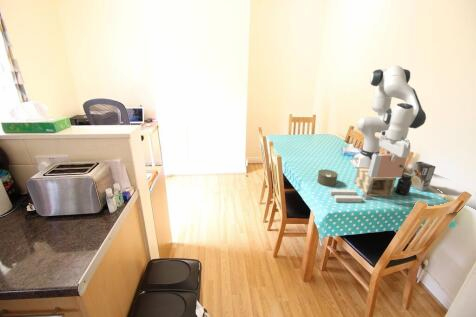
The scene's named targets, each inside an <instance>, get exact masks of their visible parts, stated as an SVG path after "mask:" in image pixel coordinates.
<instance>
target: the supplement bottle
mask: <svg viewBox="0 0 476 317" xmlns="http://www.w3.org/2000/svg"><path fill="white" fill-rule="evenodd" d="M411 184H412V181H411V174H407V173H402V175H401V178H399V177H398V178H397V183H396V187H395V189H394V192H395V193H396V194H397V195H400V196H409V193H410V190H411V188H412V187H411Z"/></svg>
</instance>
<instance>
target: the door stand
mask: <svg viewBox="0 0 476 317" xmlns="http://www.w3.org/2000/svg"><path fill="white" fill-rule="evenodd" d="M357 193H358V192H357V191H356V190H355V189H334V188H333V189H329V191H328V194H329V195H330V197H331V196H333V200H334V202H335V203H362V202H363V199H364V198H363V197H362V196H361V195H357Z"/></svg>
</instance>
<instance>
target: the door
mask: <svg viewBox="0 0 476 317" xmlns="http://www.w3.org/2000/svg"><path fill="white" fill-rule="evenodd" d="M392 157H393V153H390V154H386V153H379V154H373V156H372V160H371V164H370V168H369V172H368V176H370V177H395V178H398V179H399V178H401V176H402V174H403V172H404V168H405V166H406V161H407V159H408V157H407V158H400V157H397V158H396V159H395V161H394V162H392V161H390V158H392Z"/></svg>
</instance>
